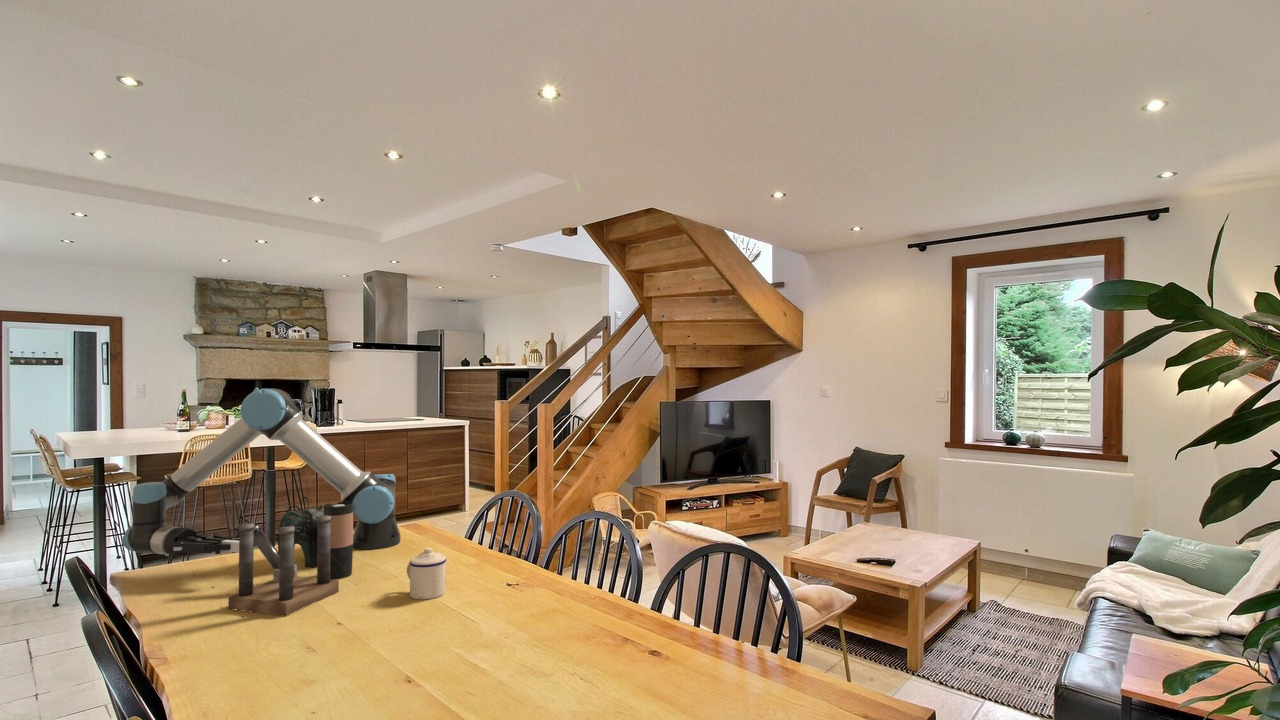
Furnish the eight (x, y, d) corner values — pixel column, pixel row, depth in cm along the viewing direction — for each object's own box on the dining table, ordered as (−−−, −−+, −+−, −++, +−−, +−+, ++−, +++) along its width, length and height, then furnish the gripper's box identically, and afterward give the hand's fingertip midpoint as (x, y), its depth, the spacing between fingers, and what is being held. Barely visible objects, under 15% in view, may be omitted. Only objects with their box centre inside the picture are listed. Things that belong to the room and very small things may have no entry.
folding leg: (293, 566, 167) (261, 523, 170) (283, 569, 164) (250, 526, 167) (286, 574, 167) (254, 531, 170) (276, 578, 164) (243, 534, 167)
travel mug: (344, 580, 174) (345, 506, 174) (317, 579, 174) (317, 506, 174) (357, 571, 181) (358, 501, 182) (331, 571, 181) (332, 501, 182)
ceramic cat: (329, 565, 187) (329, 497, 187) (307, 571, 182) (308, 501, 182) (291, 555, 198) (292, 491, 198) (270, 560, 192) (271, 494, 193)
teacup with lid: (453, 591, 164) (454, 546, 164) (426, 602, 156) (426, 555, 156) (421, 584, 170) (421, 540, 170) (393, 594, 162) (393, 548, 162)
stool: (338, 591, 164) (339, 515, 165) (286, 616, 148) (287, 530, 148) (285, 586, 169) (286, 511, 169) (228, 609, 152) (229, 526, 153)
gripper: (196, 548, 183) (262, 554, 177) (151, 561, 170) (220, 568, 164) (197, 522, 183) (263, 527, 177) (152, 533, 170) (221, 539, 164)
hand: (242, 547), depth 171 cm, fingers closed
